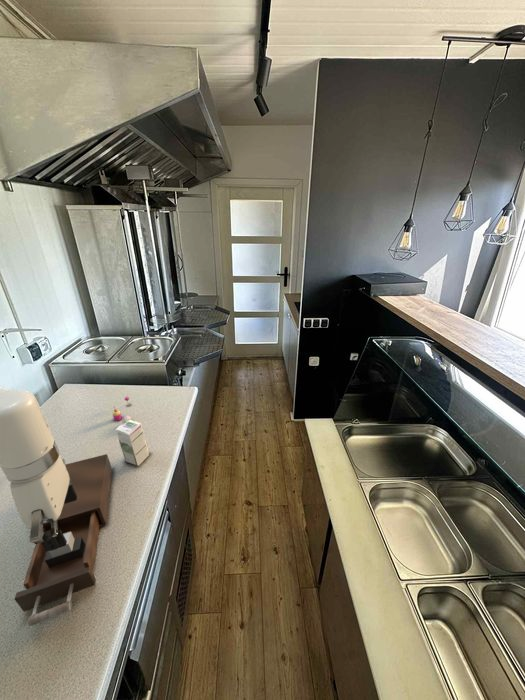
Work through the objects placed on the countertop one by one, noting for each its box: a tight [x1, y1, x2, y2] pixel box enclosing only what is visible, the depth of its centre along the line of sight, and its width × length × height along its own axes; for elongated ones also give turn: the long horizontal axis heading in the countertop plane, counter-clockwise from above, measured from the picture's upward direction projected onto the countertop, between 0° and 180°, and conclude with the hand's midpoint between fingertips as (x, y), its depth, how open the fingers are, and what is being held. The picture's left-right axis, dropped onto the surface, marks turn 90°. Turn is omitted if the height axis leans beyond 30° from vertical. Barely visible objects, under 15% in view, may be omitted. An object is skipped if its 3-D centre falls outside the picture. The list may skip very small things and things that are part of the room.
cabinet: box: [43, 453, 113, 528], centre depth 82 cm, size 20×15×7 cm
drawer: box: [14, 510, 100, 628], centre depth 67 cm, size 24×13×5 cm, turn 21°
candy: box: [112, 396, 132, 423], centre depth 116 cm, size 18×8×6 cm, turn 36°
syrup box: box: [115, 419, 150, 467], centre depth 95 cm, size 6×6×14 cm
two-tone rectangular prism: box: [45, 532, 85, 568], centre depth 67 cm, size 7×3×6 cm, turn 111°
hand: (63, 522), depth 56 cm, fingers open, 9 cm apart
